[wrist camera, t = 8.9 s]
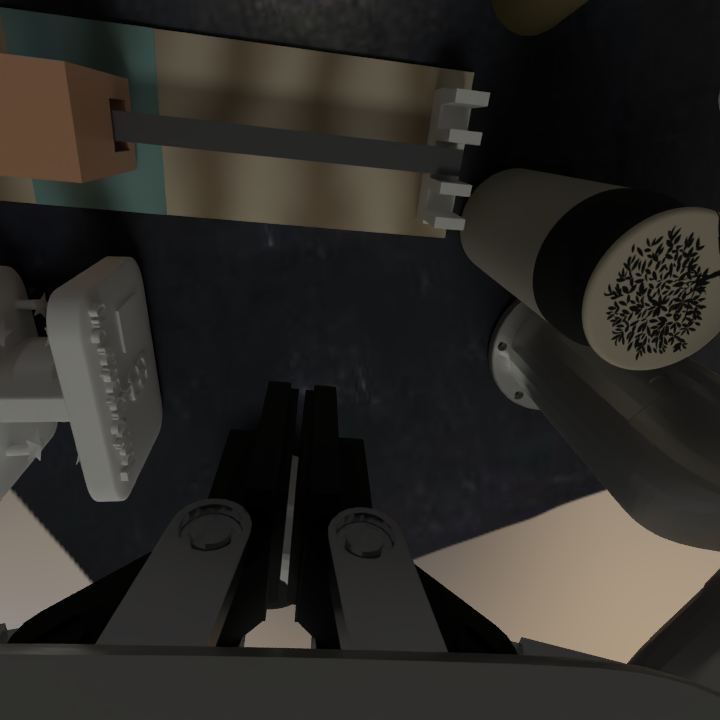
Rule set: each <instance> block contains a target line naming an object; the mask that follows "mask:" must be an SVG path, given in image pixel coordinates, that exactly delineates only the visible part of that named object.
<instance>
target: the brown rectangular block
mask: <svg viewBox="0 0 720 720" xmlns="http://www.w3.org/2000/svg"><path fill="white" fill-rule="evenodd" d="M110 110H117V111H126V112H131V104H130V94H129V84H128V79H126V78H122V77H119V76H115V75H112V74H108V73H105V72H101V71H97V70H94V69H90V68H87V67H83V66H80V65H76V64H73V63H69V62H65V61H59V60H51V59H43V58H35V57H27V56H19V55H11V54H3V53H0V176H10V177H21V178H32V179H43V180H54V181H65V182H76V183H84V182H88V181H93V180H97V179H101V178H105V177H109V176H113V175H117V174H121V173H125V172H129V171H133V170H137V166H136V155H135V145H134V143H132V142H122V141H114V139H113V130H112V121H111V113H110Z"/></svg>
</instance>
